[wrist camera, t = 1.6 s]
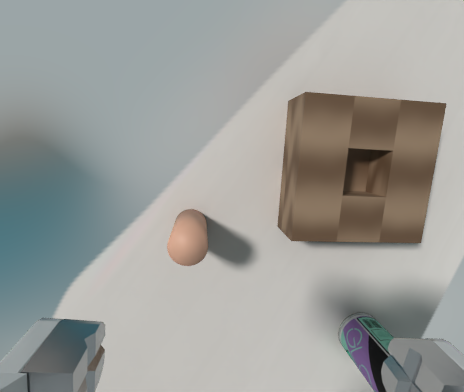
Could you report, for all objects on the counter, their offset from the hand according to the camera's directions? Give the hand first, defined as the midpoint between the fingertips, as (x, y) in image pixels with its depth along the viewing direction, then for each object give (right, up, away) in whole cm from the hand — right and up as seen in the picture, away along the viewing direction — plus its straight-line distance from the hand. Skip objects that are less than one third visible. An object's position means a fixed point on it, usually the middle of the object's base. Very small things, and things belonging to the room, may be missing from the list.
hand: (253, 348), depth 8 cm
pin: (-5, +1, +23) cm, 24 cm away
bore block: (+12, +7, +24) cm, 28 cm away
